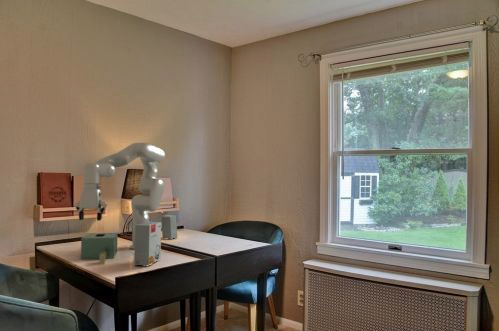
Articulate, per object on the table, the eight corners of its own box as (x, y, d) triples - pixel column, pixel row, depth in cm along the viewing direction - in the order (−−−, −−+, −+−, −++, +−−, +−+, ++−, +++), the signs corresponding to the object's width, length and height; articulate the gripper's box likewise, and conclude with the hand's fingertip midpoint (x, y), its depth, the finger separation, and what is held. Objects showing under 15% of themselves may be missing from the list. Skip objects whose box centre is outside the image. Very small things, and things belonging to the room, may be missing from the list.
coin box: (117, 252, 223) (117, 232, 223) (113, 258, 208) (113, 237, 208) (87, 253, 220) (87, 233, 220) (81, 259, 204) (81, 238, 205)
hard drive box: (148, 267, 190) (149, 225, 191) (133, 266, 192) (134, 225, 192) (161, 260, 206) (161, 221, 206) (147, 259, 207) (147, 221, 207)
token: (106, 261, 201) (106, 251, 201) (104, 264, 195) (104, 254, 195) (101, 261, 201) (101, 251, 201) (99, 264, 195) (99, 254, 195)
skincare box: (177, 238, 270) (177, 215, 270) (170, 240, 264) (170, 216, 264) (168, 237, 275) (168, 214, 275) (160, 238, 269) (161, 215, 269)
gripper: (110, 187, 209) (109, 219, 208) (79, 186, 211) (78, 218, 210) (103, 187, 201) (102, 221, 201) (71, 186, 203) (70, 220, 203)
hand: (90, 219), depth 206 cm, fingers open, 9 cm apart
